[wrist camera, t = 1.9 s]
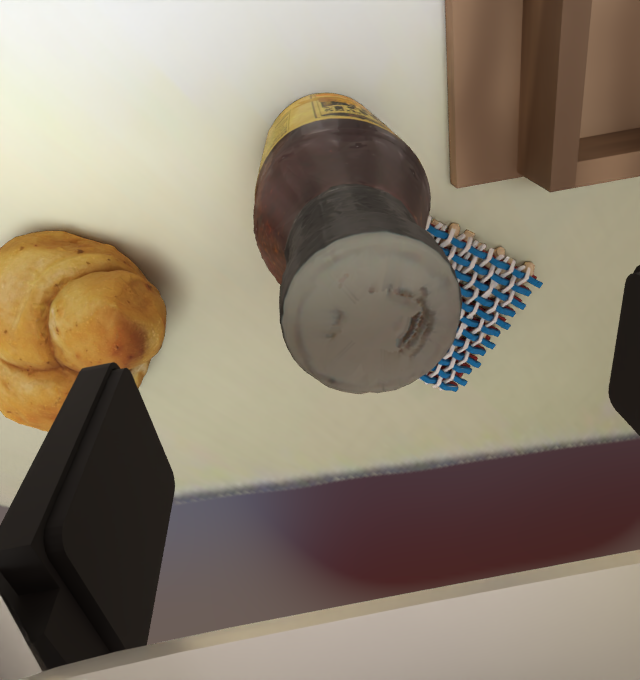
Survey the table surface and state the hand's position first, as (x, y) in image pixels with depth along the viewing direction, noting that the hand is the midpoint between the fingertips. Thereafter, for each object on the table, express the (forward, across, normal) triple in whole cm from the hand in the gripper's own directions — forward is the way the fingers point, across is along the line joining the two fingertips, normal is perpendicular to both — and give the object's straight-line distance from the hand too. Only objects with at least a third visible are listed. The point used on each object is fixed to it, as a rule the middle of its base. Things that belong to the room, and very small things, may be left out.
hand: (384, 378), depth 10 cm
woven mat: (+22, -6, +10) cm, 25 cm away
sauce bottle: (+22, -1, 0) cm, 22 cm away
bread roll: (+22, +15, +7) cm, 28 cm away
